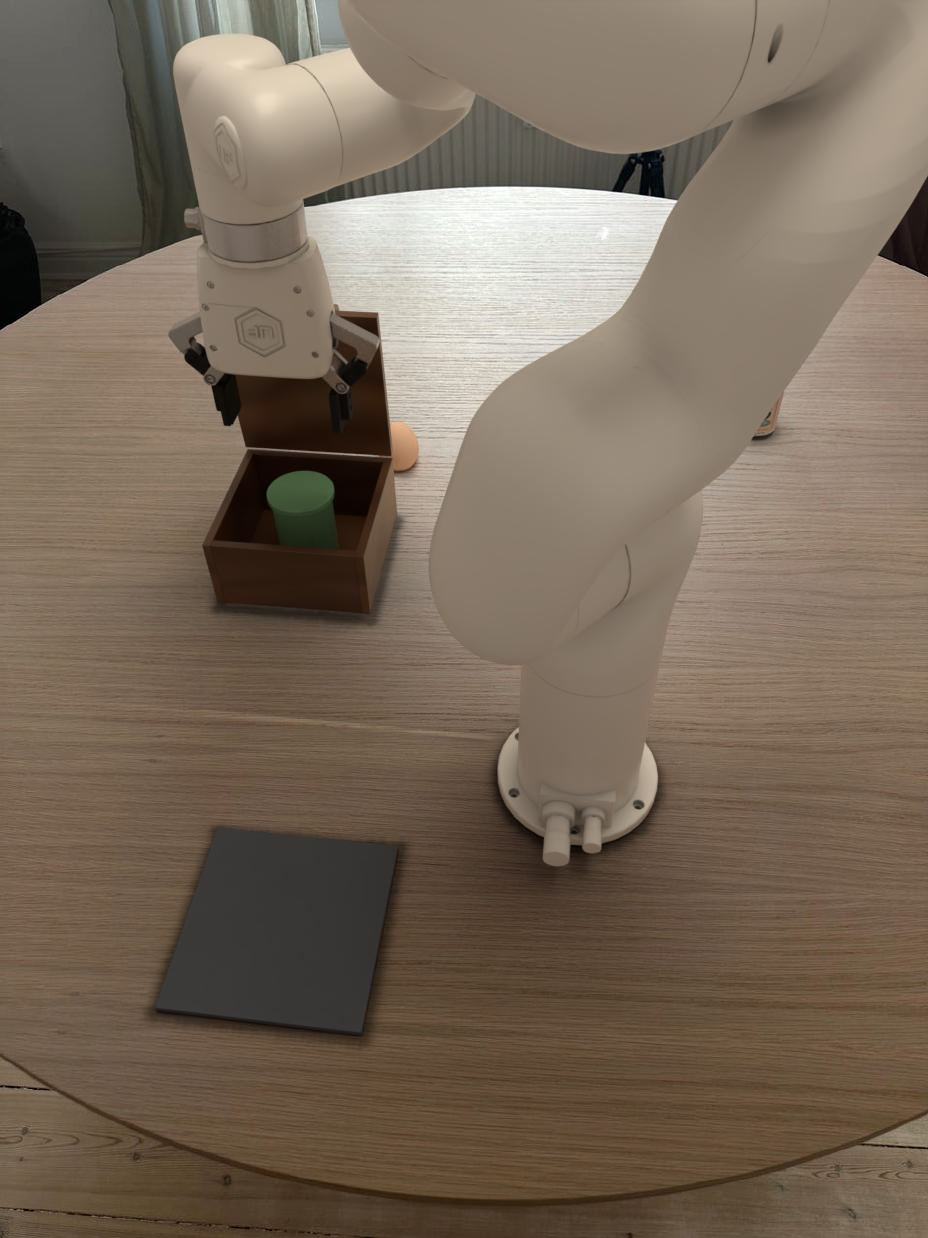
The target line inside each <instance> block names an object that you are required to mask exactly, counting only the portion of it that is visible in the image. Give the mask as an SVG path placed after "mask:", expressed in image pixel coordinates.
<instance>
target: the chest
mask: <svg viewBox="0 0 928 1238" xmlns="http://www.w3.org/2000/svg"><path fill="white" fill-rule="evenodd" d="M296 471H313V472H318V473H321V474H323V475H325V476H326V477H328V478H329V479H330V480H331V481H332V483H333V485H334V491H335V495H334V498H333V508H334V515H335V522H336V529H337V536H338V543H339V549H327V548H313V547H299V546H285V545H280V544H279V539H278V534H277V529H276V524H275V519H274V514H273V509H272V508H271V507H270V506H269V504H268V500H267V490H268V488H269V486H270V485H271V483H272V482H273V481H275V480H276V479H277V478H279V477H281V476H283V475H285V474H288V473H291V472H296ZM396 493H397V492H396V483H395V471H394V468H393V458H386V457H385V458H384V457H379V456H371V455H355V454H339V453H323V452H307V451H291V450H275V449H259V448H247V449H246V451H245V454H244V455H243V457H242V460H241V461H240V464H239V466H238V468H237V471H236V472H235V475H234V477H233V479H232V481H231V483H230V485H229V488H228V490H227V491H226V494H225V496H224V497H223V500H222V503H221V505H220V507H219V509H218V511H217V513H216V514H215V517H214V519H213V521H212V524H211V525H210V527H209V530H208V532H207V533H206V536H205V538H204V540H203V542H202V551H203V554H204V557H205V561H206V565H207V569H208V572H209V576H210V580H211V584H212V587H213V591H214V595H215V598H216V602H217V603H223V604H225V603H226V604H234V605H235V604H236V605H248V606H263V607H276V608H286V609H300V610H310V611H311V610H312V611H325V612H337V613H351V614H363V615H371V612H372V609H373V605H374V602H375V598H376V595H377V590H378V587H379V583H380V579H381V576H382V572H383V568H384V565H385V561H386V557H387V554H388V550H389V546H390V544H391V539H392V536H393V531H394V528H395V524H396V521H397V517H398V505H397V495H396Z"/></svg>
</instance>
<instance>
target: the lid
mask: <svg viewBox="0 0 928 1238" xmlns="http://www.w3.org/2000/svg"><path fill="white" fill-rule="evenodd" d="M333 304H334V310H335V315H337V316H339V317H341V318H343V319H345V320H347V321H349V322H351V323H353V324H355V325H357V326H359V327H360V328H362V329H364V330H366V331H368V332H370V333H372V334H374V335H376V336H377V337H378V338H379V340H380V342H379V345H378V348H377V351H376V353H375V355H374V357H373V359H372V361H371V363H370V365H369V366H368V368H367V370H366V373H365V374H364V375H363V376H362V377H361V378H360V379H359V380H357V381H356V382H355V383H354V384H353V385H352V386H351V389H352V399H353V416H352V419H351V420H347V421H346V423H345V426H344V429H343V432H342V434H336V433H335V432H333V428H332V420H331V411H330V403H329V393H330V391H331V388H332V387H331V386H330V385H329V384H328V383H327V382H326V381H325V380H324V379H323V378H322V377H320V378H315V379H295V378H278V377H262V376H248V375H236V380H237V385H238V390H239V395H240V400H241V410H240V412H239V414H238V416H237V419H238V423H239V426H240V431H241V435H242V438H243V442H244V446H245V448H248V449H264V450H280V451H296V452H312V453H328V454H344V455H361V456H377V457H379V456H392V453H393V446H392V437H391V427H390V424H391V420H390V411H389V400H388V399H389V398H388V391H387V381H386V373H385V372H386V371H385V362H384V354H383V343H382V335H381V326H380V325H381V324H380V315H379V312H376V311H375V312H374V311H354V310H353V311H352V310H340V307H339V305H338V304H337V303H333ZM336 350H337V351H338V352H339V353H340V354H341V355H342V356H343V357H344V358H345V359H346V360H347V361H348V362H349V361H350V360H351V359H352V358H353V357H355V356H356V355H357V353H358V352H357V350H356V349H355V348H354V347H352V346H350V345H348V344H346V343H344V342H342V341H340V340H338V347H337V349H336Z"/></svg>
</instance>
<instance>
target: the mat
mask: <svg viewBox="0 0 928 1238" xmlns="http://www.w3.org/2000/svg"><path fill="white" fill-rule="evenodd" d="M398 854H399V846H398V845H389V844H381V843H379V844H378V843H371V842H370V843H368V842H359V841H349V840H341V839H331V838H320V837H313V836H312V837H310V836H300V835H290V834H281V833H271V832H261V831H252V830H241V829H232V828H222V827H217V829H216V831H215V834H214V837H213V839H212V843H211V846H210V849H209V852H208V855H207V857H206V860H205V863H204V866H203V869H202V872H201V875H200V877H199V880H198V884H197V886H196V888H195V892H194V894H193V897H192V900H191V903H190V906H189V909H188V912H187V915H186V918H185V921H184V923H183V926H182V929H181V932H180V935H179V937H178V941H177V943H176V947H175V949H174V952H173V955H172V957H171V958H172V959H171V960H170V964H169V966H168V969H167V972H166V975H165V978H164V980H163V983H162V986H161V989H160V991H159V995H158V998H157V1001H156V1003H155V1006H154V1009H155V1010H156V1012H165V1013H173V1014H181V1015H189V1016H199V1017H206V1018H213V1019H214V1018H215V1019H223V1020H230V1021H238V1022H239V1021H240V1022H246V1023H256V1024H263V1025H272V1026H279V1027H288V1028H297V1029H304V1030H305V1029H306V1030H313V1031H314V1030H315V1031H322V1032H329V1033H338V1034H346V1035H354V1036H363V1034H364V1033H363V1032H364V1028H365V1023H366V1018H367V1012H368V1007H369V1004H370V1003H369V1001H370V997H371V993H372V992H371V991H372V987H373V982H374V977H375V973H376V966H377V961H378V955H379V951H380V946H381V940H382V936H383V930H384V925H385V921H386V916H387V910H388V906H389V900H390V894H391V891H392V890H391V889H392V884H393V880H394V875H395V871H396V870H395V869H396V864H397V859H398Z"/></svg>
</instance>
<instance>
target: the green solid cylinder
mask: <svg viewBox="0 0 928 1238" xmlns="http://www.w3.org/2000/svg"><path fill="white" fill-rule="evenodd" d="M334 495H335V491H334V485H333V483H332V481H331V480H330V479H329V478H328V477H326V476H325V475H323V474H321V473H318V472H313V471H296V472H291V473H288V474H285V475H283V476H281V477H279V478H277V479H276V480H275V481H273V482H272V483H271V485H270V486H269V488H268V490H267V500H268V504H269V506H270V507H271V508H272V509H273V514H274V519H275V524H276V529H277V534H278V539H279V544H280V545H285V546H299V547H313V548H327V549H339V543H338V536H337V529H336V522H335V515H334V508H333V498H334Z"/></svg>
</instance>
